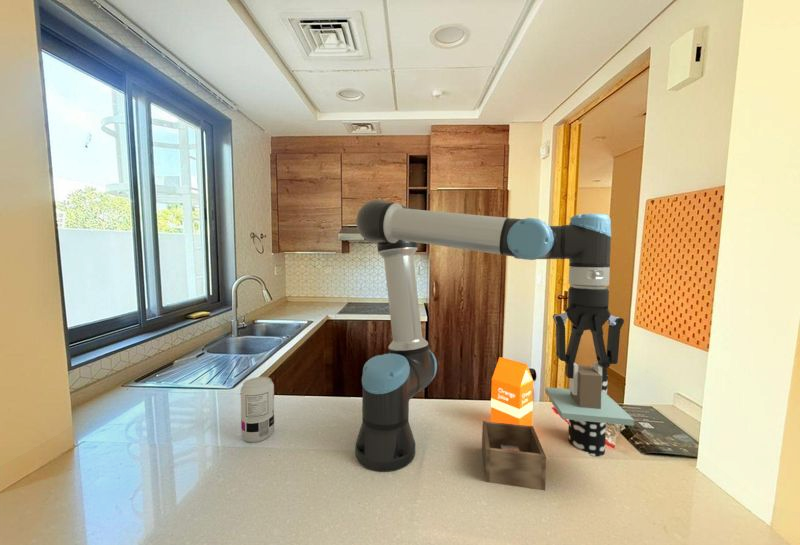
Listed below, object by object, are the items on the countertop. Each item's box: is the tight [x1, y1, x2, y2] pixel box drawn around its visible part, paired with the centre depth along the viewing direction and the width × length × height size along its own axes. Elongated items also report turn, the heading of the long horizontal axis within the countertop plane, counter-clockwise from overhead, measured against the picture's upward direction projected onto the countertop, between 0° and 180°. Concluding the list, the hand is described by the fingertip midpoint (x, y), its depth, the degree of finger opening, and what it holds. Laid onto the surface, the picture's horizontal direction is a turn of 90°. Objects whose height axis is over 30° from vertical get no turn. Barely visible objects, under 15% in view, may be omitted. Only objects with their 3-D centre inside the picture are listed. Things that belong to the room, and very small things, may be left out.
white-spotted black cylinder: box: [567, 366, 609, 457], centre depth 81 cm, size 8×8×20 cm
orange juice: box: [490, 356, 534, 426], centre depth 90 cm, size 8×9×20 cm
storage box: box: [481, 420, 547, 491], centre depth 72 cm, size 12×12×8 cm
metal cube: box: [501, 445, 520, 451], centre depth 72 cm, size 4×4×4 cm
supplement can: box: [240, 376, 275, 443], centre depth 85 cm, size 8×8×15 cm
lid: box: [544, 364, 635, 427], centre depth 68 cm, size 13×13×8 cm
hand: (584, 393), depth 68 cm, fingers closed on lid, 4 cm apart
